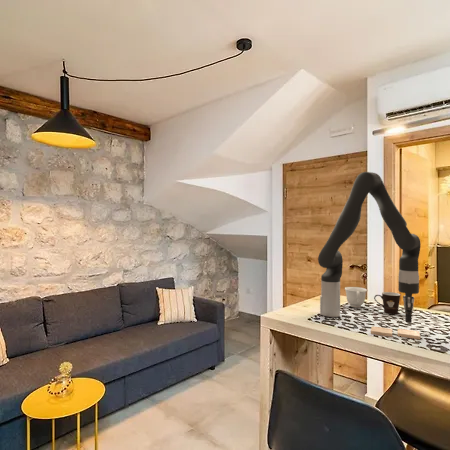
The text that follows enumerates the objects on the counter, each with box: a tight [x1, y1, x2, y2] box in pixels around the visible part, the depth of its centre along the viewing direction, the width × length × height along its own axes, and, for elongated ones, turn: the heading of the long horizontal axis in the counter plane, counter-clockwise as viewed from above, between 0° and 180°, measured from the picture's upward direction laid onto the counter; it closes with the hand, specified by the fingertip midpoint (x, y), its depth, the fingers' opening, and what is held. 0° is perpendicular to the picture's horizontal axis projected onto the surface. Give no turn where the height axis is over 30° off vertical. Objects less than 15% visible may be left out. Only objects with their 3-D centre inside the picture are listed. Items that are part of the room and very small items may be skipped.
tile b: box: [397, 328, 421, 340], centre depth 134 cm, size 8×2×7 cm
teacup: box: [344, 286, 368, 309], centre depth 180 cm, size 12×15×10 cm
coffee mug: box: [373, 291, 401, 315], centre depth 170 cm, size 12×9×10 cm
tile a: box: [370, 326, 393, 338], centre depth 137 cm, size 8×2×7 cm
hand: (408, 322), depth 135 cm, fingers closed
